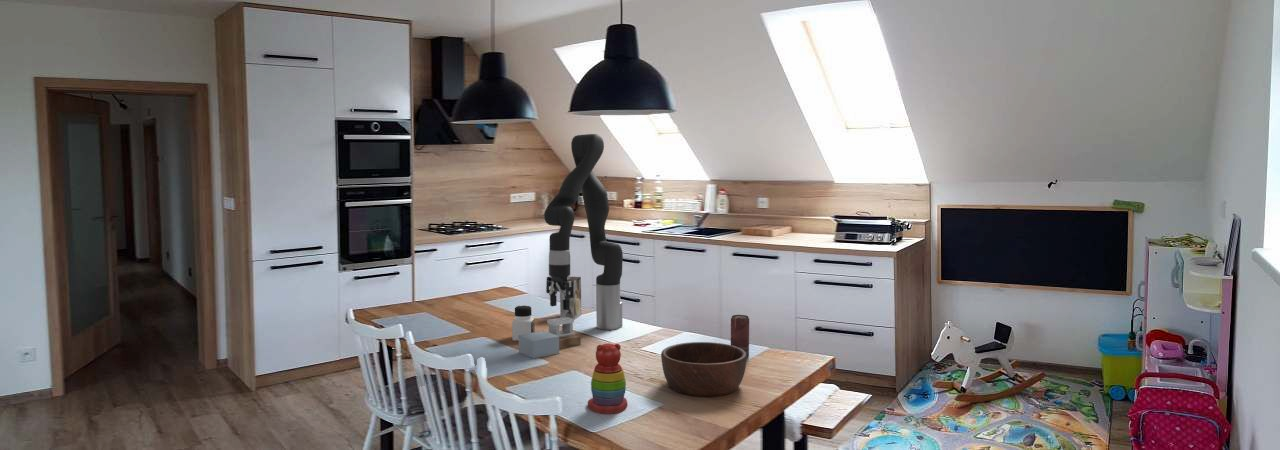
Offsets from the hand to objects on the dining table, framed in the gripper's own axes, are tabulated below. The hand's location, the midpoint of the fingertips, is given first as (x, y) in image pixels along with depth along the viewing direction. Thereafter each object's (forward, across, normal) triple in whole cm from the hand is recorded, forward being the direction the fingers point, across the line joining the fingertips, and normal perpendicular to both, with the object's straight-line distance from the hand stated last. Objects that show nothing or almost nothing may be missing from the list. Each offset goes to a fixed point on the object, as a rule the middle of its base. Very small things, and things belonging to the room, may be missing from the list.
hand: (559, 307), depth 277 cm
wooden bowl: (+14, -67, -8) cm, 69 cm away
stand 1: (+13, -5, +12) cm, 18 cm away
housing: (+10, 0, 0) cm, 10 cm away
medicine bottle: (+14, +16, +6) cm, 22 cm away
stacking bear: (+14, -65, +25) cm, 71 cm away
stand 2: (+13, 0, 0) cm, 13 cm away
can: (+13, -52, -38) cm, 65 cm away
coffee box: (+13, +35, -27) cm, 46 cm away
